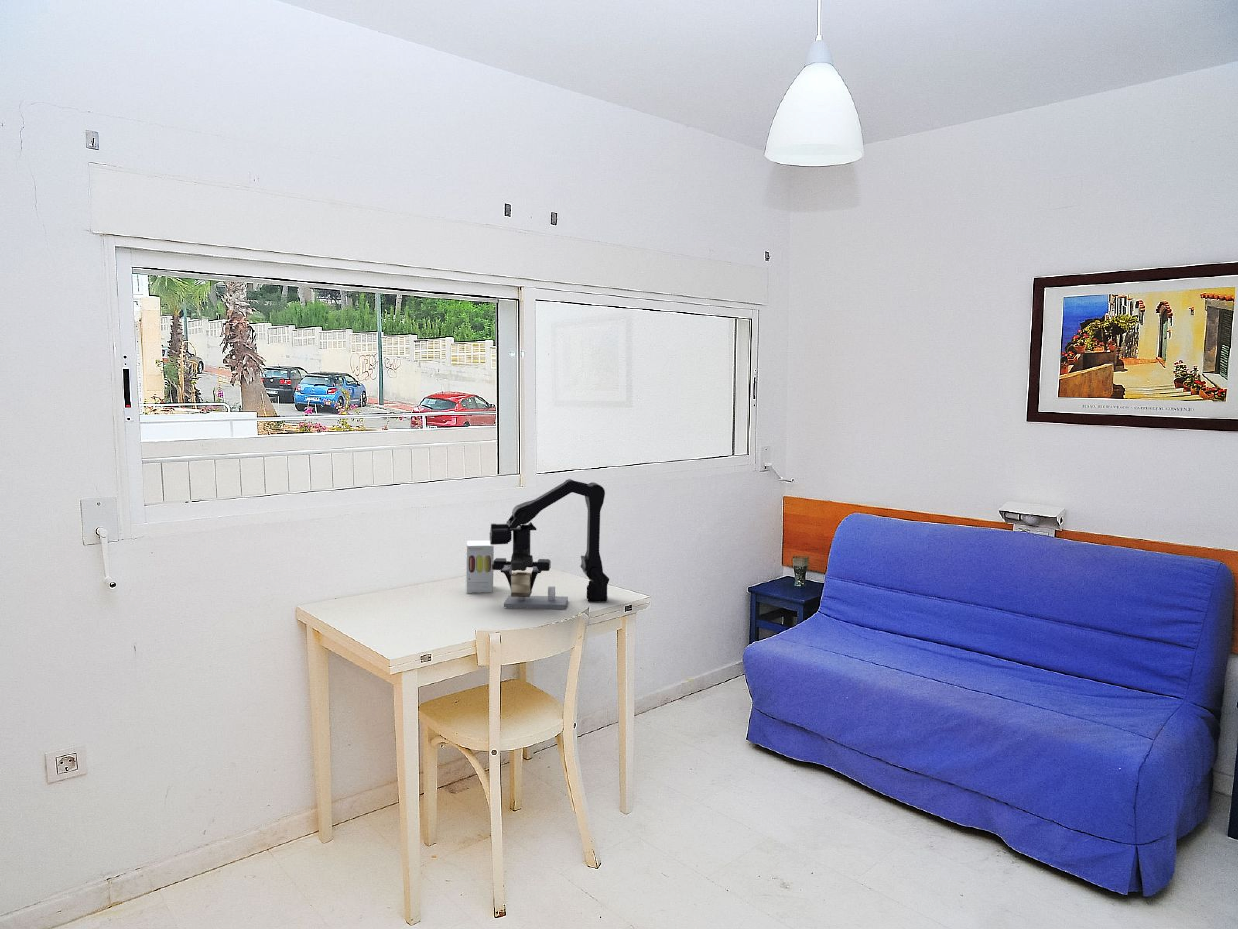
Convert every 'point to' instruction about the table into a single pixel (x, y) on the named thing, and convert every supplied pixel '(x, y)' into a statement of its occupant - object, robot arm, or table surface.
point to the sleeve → (521, 584)
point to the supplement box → (479, 566)
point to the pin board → (538, 601)
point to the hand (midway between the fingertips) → (521, 590)
